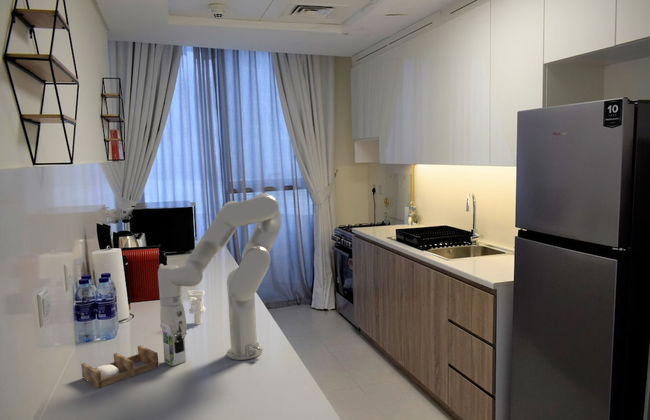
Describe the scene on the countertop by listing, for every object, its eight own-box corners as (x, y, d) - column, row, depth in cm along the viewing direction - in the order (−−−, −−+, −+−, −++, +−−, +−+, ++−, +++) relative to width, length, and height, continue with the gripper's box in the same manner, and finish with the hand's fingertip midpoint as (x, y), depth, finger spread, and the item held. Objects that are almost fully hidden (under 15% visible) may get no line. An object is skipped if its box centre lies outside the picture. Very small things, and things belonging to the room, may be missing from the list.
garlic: (90, 378, 172) (89, 367, 171) (108, 370, 177) (107, 360, 177) (104, 383, 167) (103, 372, 167) (122, 375, 173) (122, 364, 172)
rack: (158, 366, 179) (157, 352, 178) (98, 388, 163) (97, 373, 163) (141, 358, 187) (140, 345, 186) (82, 378, 171) (81, 363, 171)
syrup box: (163, 362, 182) (160, 322, 181) (178, 357, 186) (176, 318, 185) (171, 366, 178) (168, 326, 177) (186, 361, 182) (184, 321, 181)
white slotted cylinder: (188, 322, 226) (186, 289, 224) (204, 319, 229) (202, 287, 228) (192, 327, 220) (189, 293, 218) (208, 324, 223) (206, 290, 221)
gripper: (194, 301, 177) (197, 352, 179) (167, 294, 189) (170, 341, 190) (175, 307, 171) (178, 359, 173) (148, 299, 183) (152, 347, 185)
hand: (174, 349), depth 182 cm, fingers closed on syrup box, 5 cm apart
